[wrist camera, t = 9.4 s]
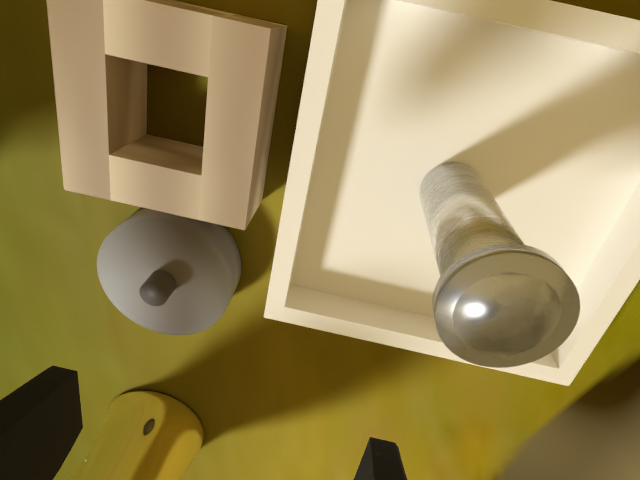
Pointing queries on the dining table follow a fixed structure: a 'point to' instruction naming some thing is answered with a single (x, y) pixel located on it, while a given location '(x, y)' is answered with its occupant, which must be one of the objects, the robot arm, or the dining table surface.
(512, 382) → the dining table surface
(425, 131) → the tray
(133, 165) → the block
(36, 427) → the robot arm
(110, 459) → the beer glass
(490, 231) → the pin
